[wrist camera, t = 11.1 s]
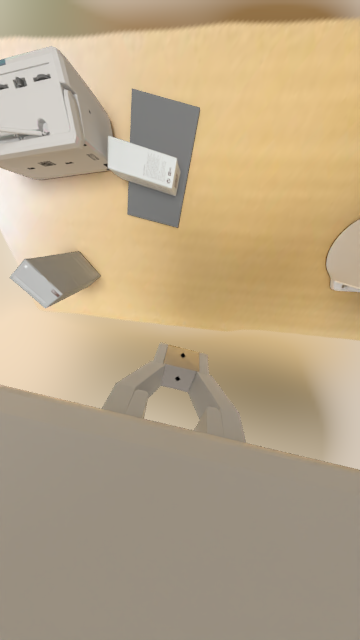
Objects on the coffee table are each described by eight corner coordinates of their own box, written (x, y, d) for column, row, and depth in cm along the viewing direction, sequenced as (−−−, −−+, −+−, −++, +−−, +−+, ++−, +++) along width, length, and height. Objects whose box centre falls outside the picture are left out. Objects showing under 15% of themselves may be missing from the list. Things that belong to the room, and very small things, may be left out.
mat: (199, 110, 26) (199, 107, 26) (177, 227, 35) (177, 227, 35) (133, 91, 26) (132, 88, 25) (128, 214, 35) (127, 214, 34)
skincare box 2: (178, 156, 25) (106, 133, 24) (172, 189, 27) (106, 168, 26) (181, 170, 30) (122, 152, 29) (176, 197, 32) (121, 180, 32)
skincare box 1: (66, 263, 43) (4, 277, 29) (81, 248, 40) (20, 256, 26) (89, 288, 46) (42, 311, 32) (104, 276, 43) (60, 295, 30)
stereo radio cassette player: (112, 115, 28) (-31, -82, 10) (123, 175, 32) (33, 104, 14) (16, 133, 30) (-226, -1, 13) (37, 186, 34) (-125, 137, 17)
